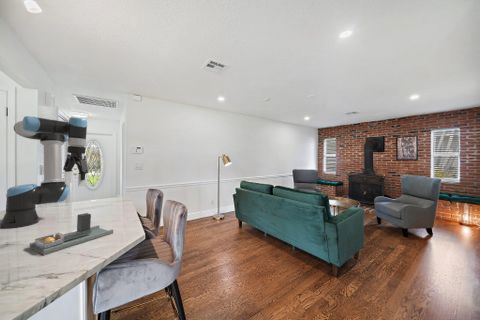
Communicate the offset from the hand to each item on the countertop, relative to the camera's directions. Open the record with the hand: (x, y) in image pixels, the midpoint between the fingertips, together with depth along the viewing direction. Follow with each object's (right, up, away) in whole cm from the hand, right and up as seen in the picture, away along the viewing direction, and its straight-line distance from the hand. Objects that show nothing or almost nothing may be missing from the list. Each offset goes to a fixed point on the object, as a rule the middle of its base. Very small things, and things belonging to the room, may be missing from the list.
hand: (74, 184), depth 103 cm
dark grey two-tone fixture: (+9, -25, -10) cm, 29 cm away
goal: (+5, -26, -18) cm, 32 cm away
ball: (+5, -24, -18) cm, 30 cm away
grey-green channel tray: (+9, -26, -9) cm, 29 cm away
